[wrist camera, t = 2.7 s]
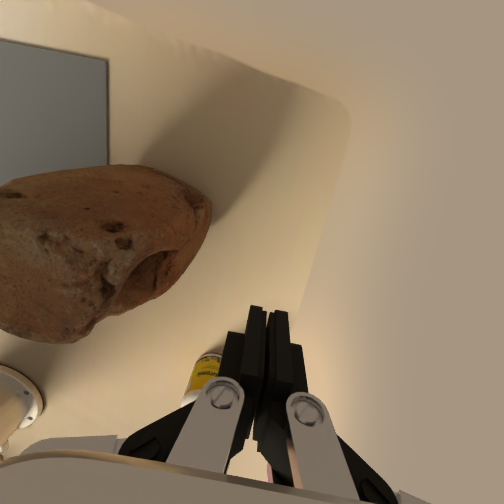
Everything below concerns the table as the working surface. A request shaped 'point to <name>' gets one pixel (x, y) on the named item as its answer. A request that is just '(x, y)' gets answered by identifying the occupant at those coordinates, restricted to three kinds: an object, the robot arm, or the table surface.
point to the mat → (50, 111)
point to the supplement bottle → (201, 376)
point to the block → (92, 246)
